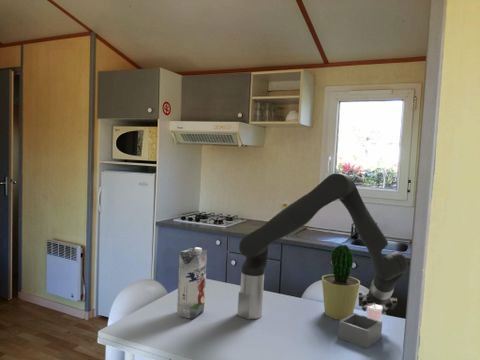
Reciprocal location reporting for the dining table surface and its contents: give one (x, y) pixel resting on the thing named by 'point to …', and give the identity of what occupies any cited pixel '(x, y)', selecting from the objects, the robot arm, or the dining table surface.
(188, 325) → the dining table surface
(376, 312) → the beverage cup
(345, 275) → the potted cactus
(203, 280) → the juice carton
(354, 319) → the bin
